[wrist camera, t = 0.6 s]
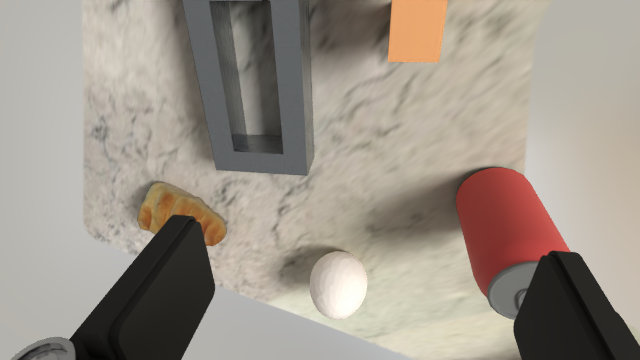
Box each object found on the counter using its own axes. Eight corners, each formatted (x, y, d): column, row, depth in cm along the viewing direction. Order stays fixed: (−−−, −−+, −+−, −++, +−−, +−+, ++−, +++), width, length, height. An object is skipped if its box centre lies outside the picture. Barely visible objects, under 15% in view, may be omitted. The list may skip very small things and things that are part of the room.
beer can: (449, 219, 37) (471, 321, 27) (461, 161, 33) (491, 253, 23) (520, 225, 36) (569, 332, 26) (539, 166, 32) (605, 264, 22)
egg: (346, 285, 44) (339, 342, 38) (305, 259, 43) (290, 313, 37) (380, 258, 41) (378, 315, 35) (336, 229, 40) (326, 282, 34)
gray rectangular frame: (198, -34, 28) (175, -31, 26) (307, -36, 27) (296, -34, 24) (230, 152, 37) (216, 169, 34) (314, 156, 36) (307, 175, 33)
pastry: (236, 207, 41) (223, 229, 38) (223, 247, 45) (210, 270, 41) (155, 174, 40) (135, 194, 37) (148, 217, 44) (129, 238, 41)
